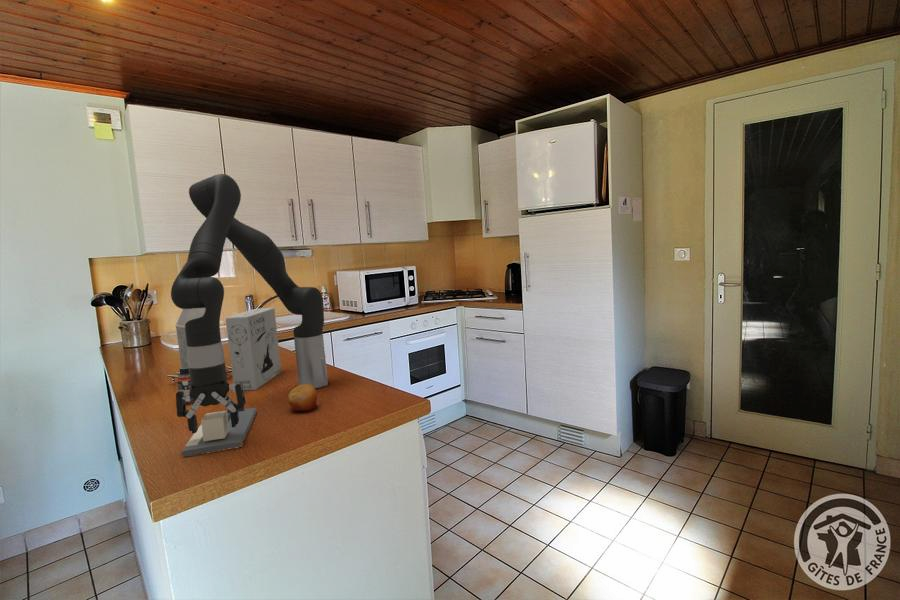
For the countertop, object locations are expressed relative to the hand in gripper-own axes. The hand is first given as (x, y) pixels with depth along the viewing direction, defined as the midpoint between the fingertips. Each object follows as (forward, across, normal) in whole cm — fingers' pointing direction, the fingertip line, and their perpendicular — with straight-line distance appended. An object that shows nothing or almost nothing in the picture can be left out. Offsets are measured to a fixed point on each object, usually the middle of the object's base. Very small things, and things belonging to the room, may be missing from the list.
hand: (214, 429), depth 105 cm
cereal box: (+4, -2, -54) cm, 54 cm away
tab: (+2, 0, 0) cm, 2 cm away
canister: (+4, +18, -62) cm, 65 cm away
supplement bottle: (+4, +16, -39) cm, 42 cm away
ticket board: (+4, 0, -7) cm, 8 cm away
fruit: (+4, -19, -16) cm, 25 cm away
